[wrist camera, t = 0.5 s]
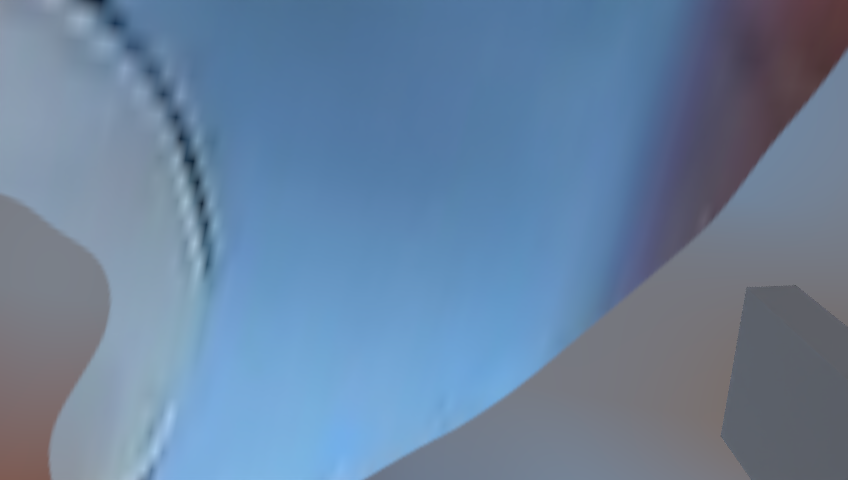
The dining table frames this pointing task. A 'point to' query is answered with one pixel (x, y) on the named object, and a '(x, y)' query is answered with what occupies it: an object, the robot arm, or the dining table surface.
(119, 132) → the dining table surface
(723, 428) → the robot arm
